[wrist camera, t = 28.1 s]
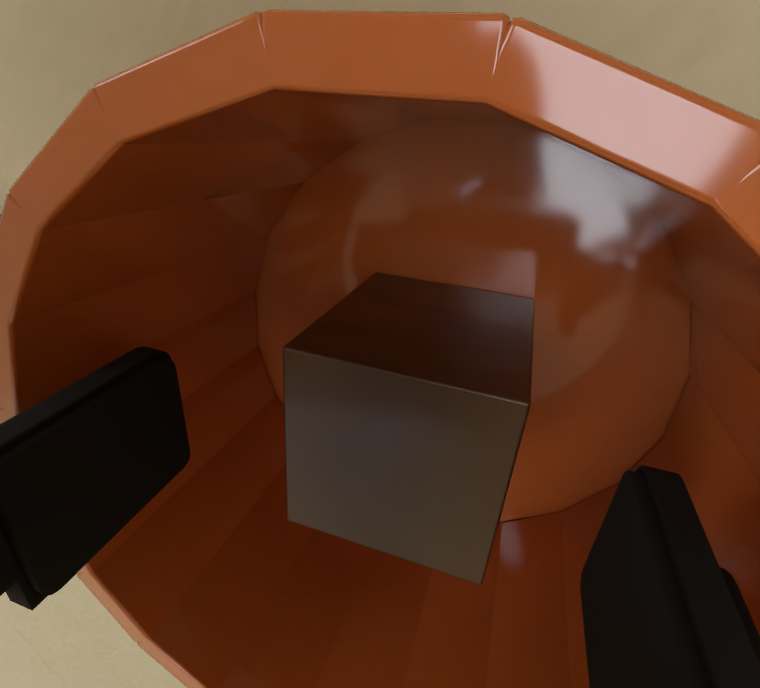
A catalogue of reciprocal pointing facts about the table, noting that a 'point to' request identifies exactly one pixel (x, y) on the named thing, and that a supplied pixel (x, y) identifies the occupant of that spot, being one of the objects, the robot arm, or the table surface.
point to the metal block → (409, 419)
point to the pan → (406, 259)
